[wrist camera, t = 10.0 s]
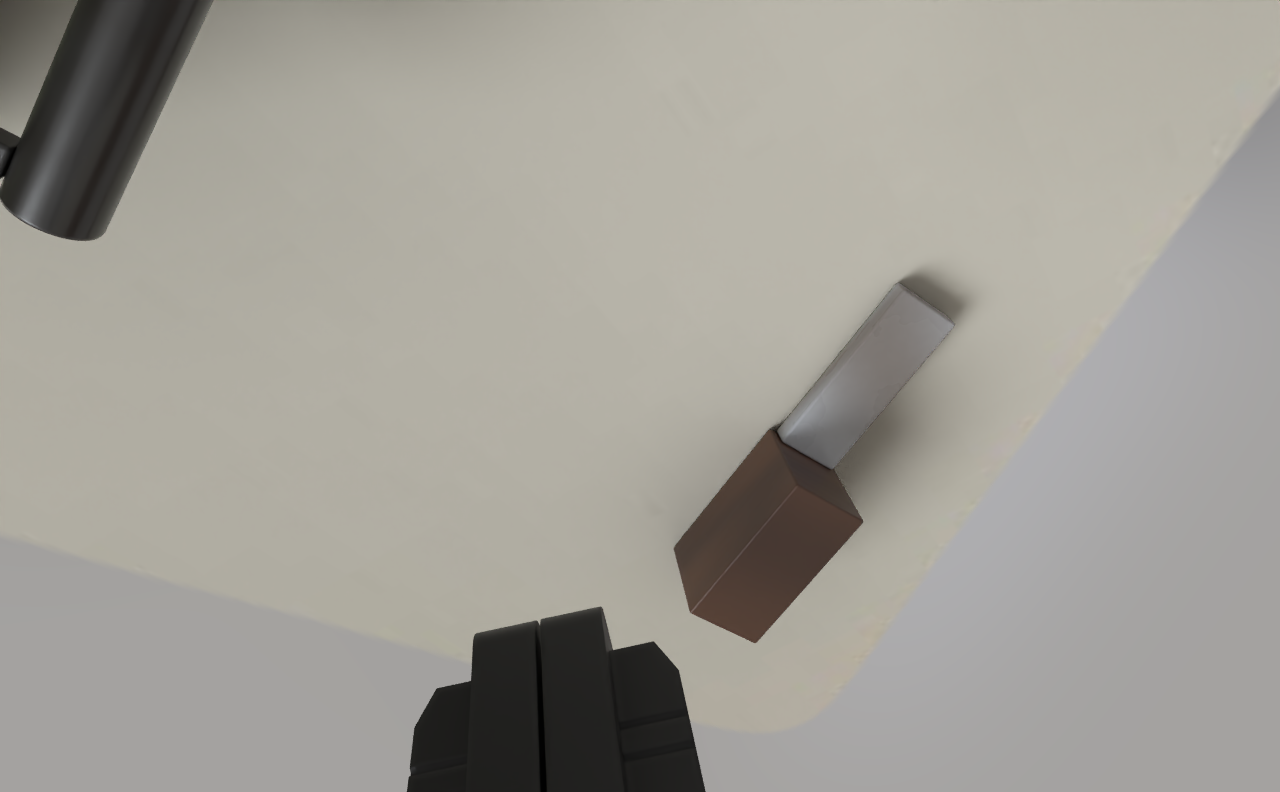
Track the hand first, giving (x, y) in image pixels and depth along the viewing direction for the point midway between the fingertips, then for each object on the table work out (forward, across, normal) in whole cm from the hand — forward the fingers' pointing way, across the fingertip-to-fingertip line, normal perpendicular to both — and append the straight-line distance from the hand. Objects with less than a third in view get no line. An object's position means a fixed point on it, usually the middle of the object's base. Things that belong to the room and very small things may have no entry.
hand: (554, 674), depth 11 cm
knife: (+13, -6, +6) cm, 15 cm away
